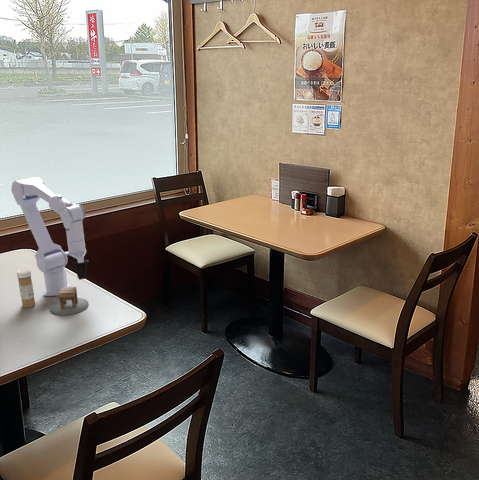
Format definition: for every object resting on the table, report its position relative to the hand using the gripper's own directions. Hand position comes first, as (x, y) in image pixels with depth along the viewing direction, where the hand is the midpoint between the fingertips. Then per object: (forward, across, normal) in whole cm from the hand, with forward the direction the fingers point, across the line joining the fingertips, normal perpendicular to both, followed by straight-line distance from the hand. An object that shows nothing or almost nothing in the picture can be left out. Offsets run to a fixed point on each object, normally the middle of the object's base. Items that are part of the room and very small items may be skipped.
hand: (80, 275), depth 182 cm
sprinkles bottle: (+11, -6, -18) cm, 22 cm away
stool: (+10, +2, -5) cm, 11 cm away
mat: (+10, +2, -5) cm, 12 cm away
